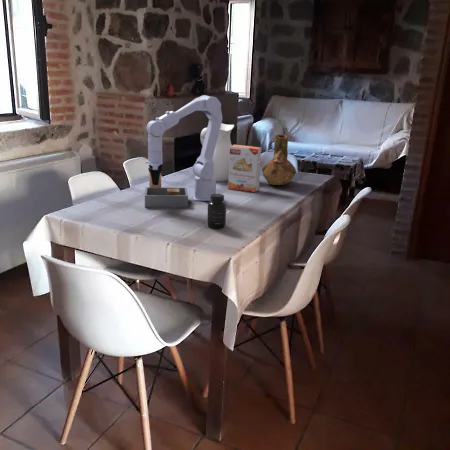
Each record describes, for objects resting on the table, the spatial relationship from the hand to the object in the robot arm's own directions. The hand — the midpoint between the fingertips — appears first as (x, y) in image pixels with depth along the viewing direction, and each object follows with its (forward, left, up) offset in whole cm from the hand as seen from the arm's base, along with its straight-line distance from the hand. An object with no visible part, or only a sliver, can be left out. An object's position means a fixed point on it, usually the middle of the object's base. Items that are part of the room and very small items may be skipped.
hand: (155, 183), depth 201 cm
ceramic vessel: (-61, -32, -9) cm, 69 cm away
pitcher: (-30, -42, -9) cm, 52 cm away
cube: (-7, 0, -8) cm, 11 cm away
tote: (-5, 0, -8) cm, 10 cm away
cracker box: (-42, -23, -9) cm, 48 cm away
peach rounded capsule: (0, 0, -2) cm, 2 cm away
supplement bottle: (-23, +31, -9) cm, 39 cm away
